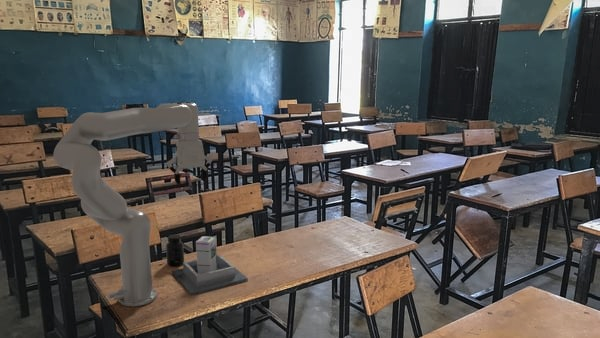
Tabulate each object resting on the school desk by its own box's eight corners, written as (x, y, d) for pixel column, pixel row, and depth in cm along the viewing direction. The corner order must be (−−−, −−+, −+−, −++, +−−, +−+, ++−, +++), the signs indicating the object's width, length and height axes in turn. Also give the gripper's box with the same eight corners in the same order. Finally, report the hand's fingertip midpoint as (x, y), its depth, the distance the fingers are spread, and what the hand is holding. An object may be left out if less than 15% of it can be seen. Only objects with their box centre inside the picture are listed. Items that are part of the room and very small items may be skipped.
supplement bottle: (166, 262, 186) (164, 234, 184) (182, 259, 189) (181, 232, 187) (168, 268, 180) (166, 240, 178) (185, 265, 183) (184, 237, 180)
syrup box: (212, 278, 169) (210, 241, 166) (197, 277, 170) (195, 240, 167) (217, 272, 174) (216, 236, 171) (203, 271, 175) (201, 235, 172)
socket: (191, 295, 158) (190, 282, 157) (172, 273, 176) (171, 261, 175) (247, 280, 169) (247, 268, 168) (224, 261, 187) (223, 249, 186)
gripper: (168, 139, 159) (171, 187, 162) (214, 136, 168) (216, 181, 171) (162, 137, 165) (165, 183, 168) (207, 134, 174) (208, 177, 177)
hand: (190, 182), depth 170 cm, fingers open, 9 cm apart
